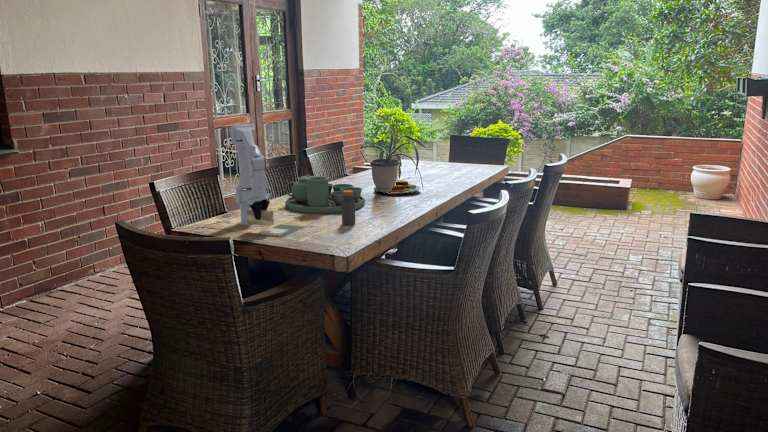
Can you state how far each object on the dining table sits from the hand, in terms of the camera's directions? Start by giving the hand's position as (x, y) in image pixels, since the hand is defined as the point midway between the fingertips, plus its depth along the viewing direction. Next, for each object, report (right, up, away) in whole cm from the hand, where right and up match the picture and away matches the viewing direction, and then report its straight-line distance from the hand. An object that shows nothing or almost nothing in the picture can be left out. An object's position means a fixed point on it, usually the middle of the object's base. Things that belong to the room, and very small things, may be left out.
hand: (260, 218), depth 251 cm
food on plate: (+60, +14, +91) cm, 110 cm away
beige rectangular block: (0, -2, +1) cm, 2 cm away
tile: (+2, -5, 0) cm, 6 cm away
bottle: (+36, -3, +16) cm, 40 cm away
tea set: (+21, +6, +57) cm, 61 cm away
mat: (+8, -6, +3) cm, 10 cm away
